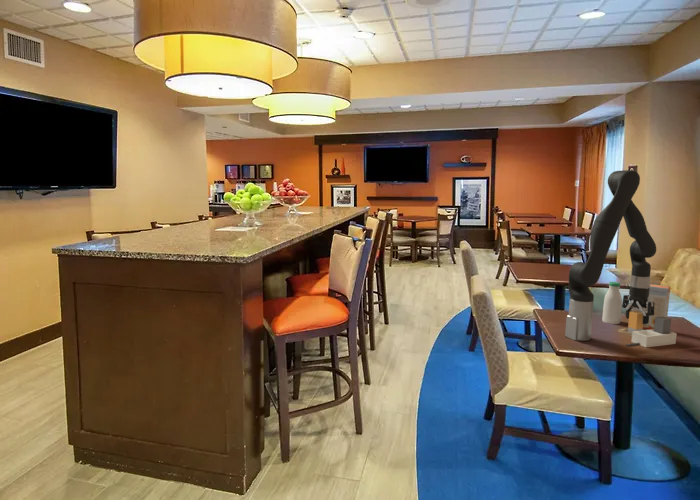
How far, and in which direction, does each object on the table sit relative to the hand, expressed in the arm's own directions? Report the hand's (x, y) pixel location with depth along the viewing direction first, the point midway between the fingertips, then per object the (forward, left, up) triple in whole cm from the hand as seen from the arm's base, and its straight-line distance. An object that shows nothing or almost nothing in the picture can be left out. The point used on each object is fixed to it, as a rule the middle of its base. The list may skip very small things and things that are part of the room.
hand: (636, 321), depth 209 cm
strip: (-5, -11, -7) cm, 14 cm away
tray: (0, 0, -7) cm, 7 cm away
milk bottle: (+5, +18, -7) cm, 20 cm away
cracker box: (+14, +6, -7) cm, 16 cm away
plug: (0, 0, -6) cm, 6 cm away
